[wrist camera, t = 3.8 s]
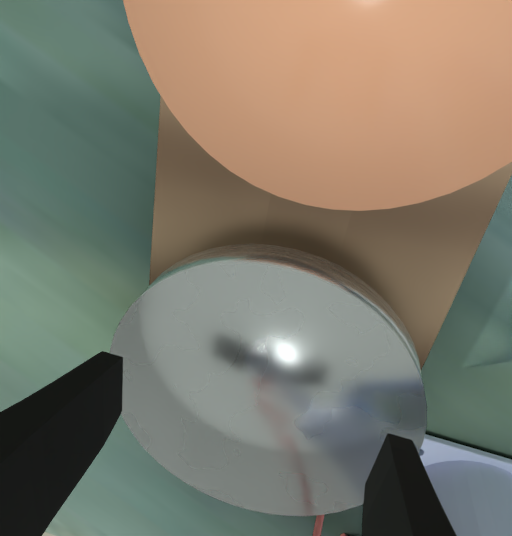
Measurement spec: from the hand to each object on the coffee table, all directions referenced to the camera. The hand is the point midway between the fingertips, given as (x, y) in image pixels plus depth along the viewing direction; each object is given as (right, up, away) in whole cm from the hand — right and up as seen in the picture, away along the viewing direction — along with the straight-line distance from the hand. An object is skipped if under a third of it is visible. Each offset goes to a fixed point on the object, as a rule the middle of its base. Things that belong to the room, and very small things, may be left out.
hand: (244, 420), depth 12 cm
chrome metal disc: (+1, +1, +7) cm, 7 cm away
